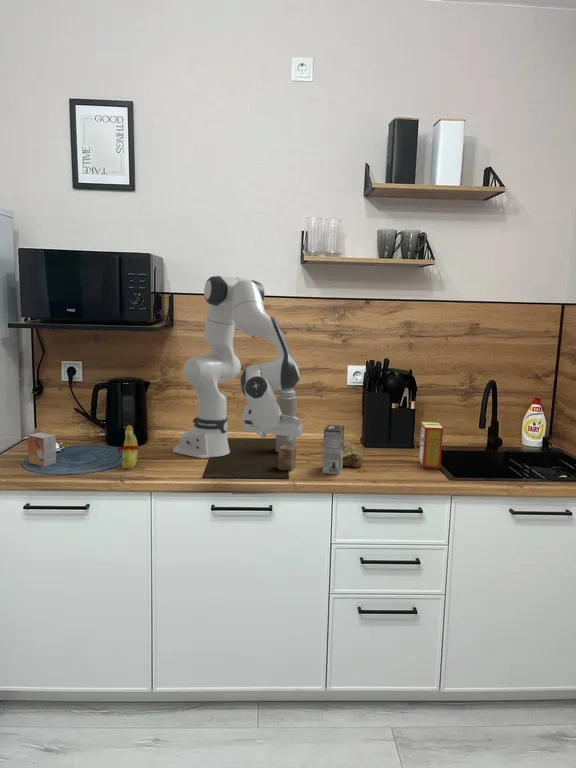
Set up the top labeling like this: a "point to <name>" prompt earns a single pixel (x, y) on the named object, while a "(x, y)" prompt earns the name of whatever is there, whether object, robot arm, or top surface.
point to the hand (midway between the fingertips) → (277, 437)
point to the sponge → (351, 455)
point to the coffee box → (333, 449)
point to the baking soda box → (430, 445)
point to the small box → (42, 449)
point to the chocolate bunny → (129, 449)
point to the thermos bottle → (286, 414)
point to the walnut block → (287, 458)
